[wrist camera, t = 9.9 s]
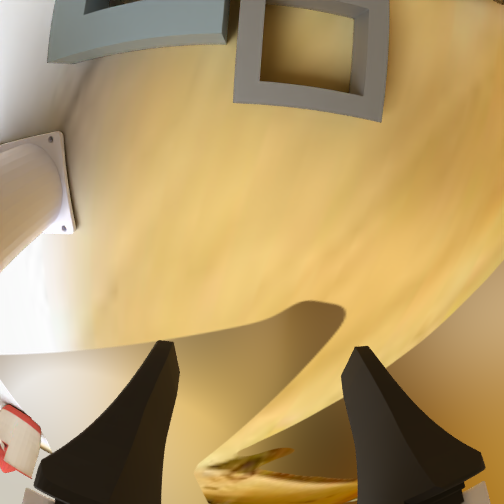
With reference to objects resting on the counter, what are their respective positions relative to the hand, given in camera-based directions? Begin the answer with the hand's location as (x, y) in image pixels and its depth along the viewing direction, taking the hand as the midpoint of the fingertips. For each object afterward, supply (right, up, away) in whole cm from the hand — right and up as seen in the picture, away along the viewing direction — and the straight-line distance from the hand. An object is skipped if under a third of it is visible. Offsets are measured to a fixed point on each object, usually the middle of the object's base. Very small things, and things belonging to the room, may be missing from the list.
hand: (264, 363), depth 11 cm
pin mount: (+3, +16, +2) cm, 17 cm away
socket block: (-7, +21, 0) cm, 22 cm away
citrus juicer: (-61, -39, +35) cm, 81 cm away
